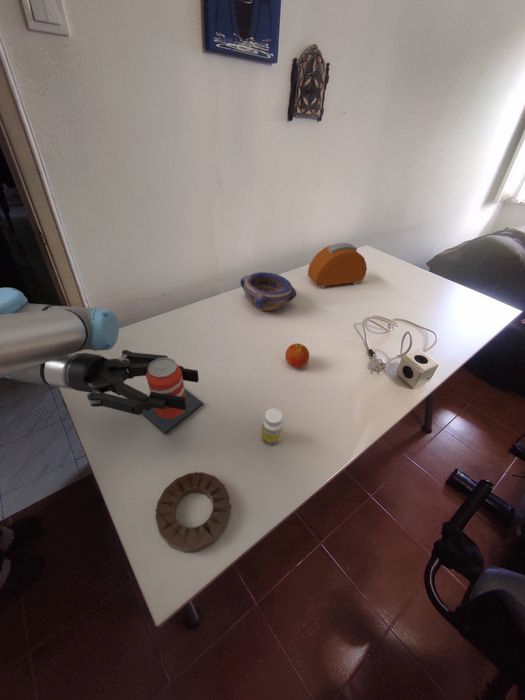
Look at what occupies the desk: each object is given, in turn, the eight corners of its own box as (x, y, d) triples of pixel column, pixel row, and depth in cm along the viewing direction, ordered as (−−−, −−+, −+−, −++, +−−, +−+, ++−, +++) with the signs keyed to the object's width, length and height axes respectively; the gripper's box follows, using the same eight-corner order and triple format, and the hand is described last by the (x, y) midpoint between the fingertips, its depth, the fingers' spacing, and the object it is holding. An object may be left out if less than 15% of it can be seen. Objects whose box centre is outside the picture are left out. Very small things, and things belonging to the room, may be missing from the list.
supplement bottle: (268, 425, 76) (271, 403, 71) (284, 435, 74) (288, 413, 69) (257, 438, 73) (258, 416, 68) (273, 449, 71) (276, 427, 66)
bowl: (298, 313, 115) (302, 289, 108) (253, 322, 109) (254, 297, 102) (278, 289, 127) (280, 267, 121) (236, 296, 121) (236, 273, 115)
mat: (165, 435, 72) (164, 432, 72) (134, 408, 78) (133, 405, 77) (203, 405, 80) (203, 402, 79) (173, 382, 85) (172, 379, 85)
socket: (191, 570, 53) (189, 567, 52) (142, 515, 59) (140, 511, 58) (244, 507, 61) (244, 502, 60) (197, 464, 67) (196, 460, 66)
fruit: (309, 359, 95) (313, 339, 90) (304, 374, 90) (308, 354, 85) (287, 354, 97) (290, 334, 92) (281, 368, 92) (284, 348, 87)
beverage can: (167, 393, 67) (158, 351, 60) (192, 403, 66) (186, 362, 58) (149, 413, 63) (137, 371, 55) (175, 425, 61) (166, 383, 54)
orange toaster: (352, 274, 141) (362, 238, 131) (363, 284, 135) (374, 246, 124) (305, 280, 135) (312, 242, 124) (314, 290, 129) (322, 251, 118)
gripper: (110, 353, 71) (207, 369, 69) (53, 422, 57) (175, 444, 55) (101, 327, 66) (205, 343, 64) (36, 395, 52) (169, 418, 50)
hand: (191, 389), depth 60 cm, fingers closed on beverage can, 6 cm apart
